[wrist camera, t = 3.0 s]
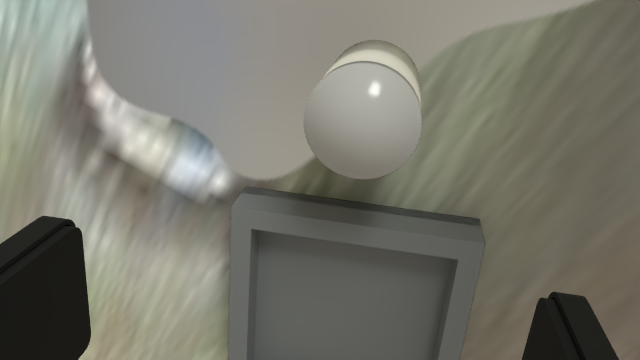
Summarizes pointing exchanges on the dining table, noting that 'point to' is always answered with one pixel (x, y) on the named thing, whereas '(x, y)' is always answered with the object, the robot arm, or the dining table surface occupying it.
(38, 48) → the dining table surface
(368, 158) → the cylinder
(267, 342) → the tray
